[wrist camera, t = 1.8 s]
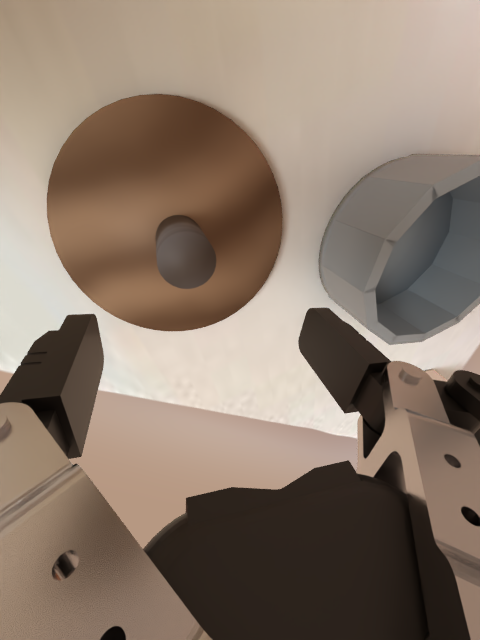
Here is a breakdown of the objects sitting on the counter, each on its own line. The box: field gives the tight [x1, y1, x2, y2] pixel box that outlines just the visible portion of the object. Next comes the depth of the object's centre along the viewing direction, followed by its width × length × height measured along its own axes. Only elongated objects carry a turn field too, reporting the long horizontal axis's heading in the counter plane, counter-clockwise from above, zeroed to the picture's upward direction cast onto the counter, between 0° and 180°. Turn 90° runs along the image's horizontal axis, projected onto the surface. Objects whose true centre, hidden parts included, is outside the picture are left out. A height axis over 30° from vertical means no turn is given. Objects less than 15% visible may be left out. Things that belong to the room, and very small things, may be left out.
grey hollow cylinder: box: [319, 154, 480, 345], centre depth 24 cm, size 15×15×7 cm
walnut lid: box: [47, 94, 282, 331], centre depth 18 cm, size 17×17×6 cm
